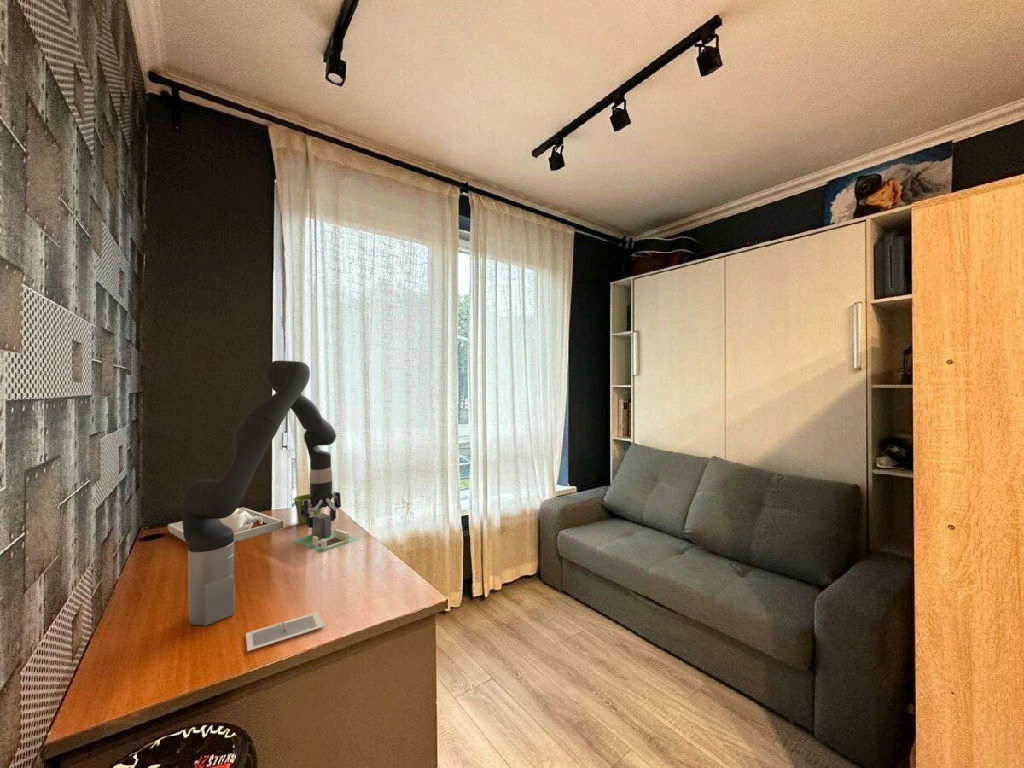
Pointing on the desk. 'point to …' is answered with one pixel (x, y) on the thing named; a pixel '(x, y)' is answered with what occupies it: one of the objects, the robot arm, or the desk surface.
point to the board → (326, 540)
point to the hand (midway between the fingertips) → (321, 523)
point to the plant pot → (298, 506)
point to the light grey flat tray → (271, 526)
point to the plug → (321, 525)
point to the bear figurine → (240, 520)
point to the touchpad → (283, 630)
